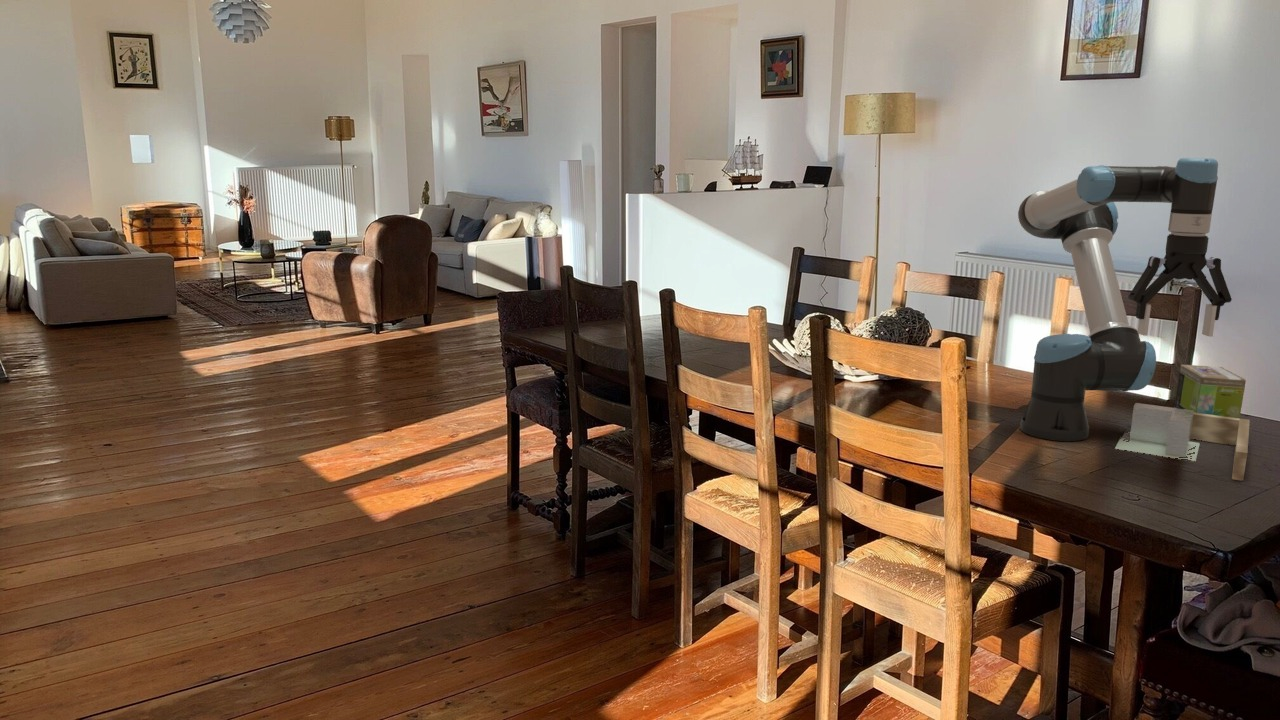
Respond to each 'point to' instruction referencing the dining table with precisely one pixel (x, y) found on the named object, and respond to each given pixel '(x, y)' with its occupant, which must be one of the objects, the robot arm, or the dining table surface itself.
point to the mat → (1154, 448)
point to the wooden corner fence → (1224, 436)
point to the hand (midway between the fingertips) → (1174, 335)
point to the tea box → (1210, 391)
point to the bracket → (1162, 427)
